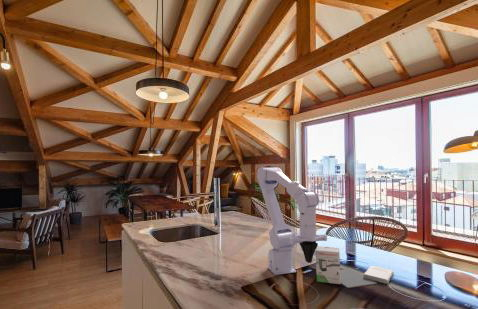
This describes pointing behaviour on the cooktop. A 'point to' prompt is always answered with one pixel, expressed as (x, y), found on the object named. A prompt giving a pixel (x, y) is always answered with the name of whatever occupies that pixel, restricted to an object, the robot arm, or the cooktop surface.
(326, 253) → the ink box
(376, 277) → the external hard drive
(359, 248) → the cooktop surface
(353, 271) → the mat
